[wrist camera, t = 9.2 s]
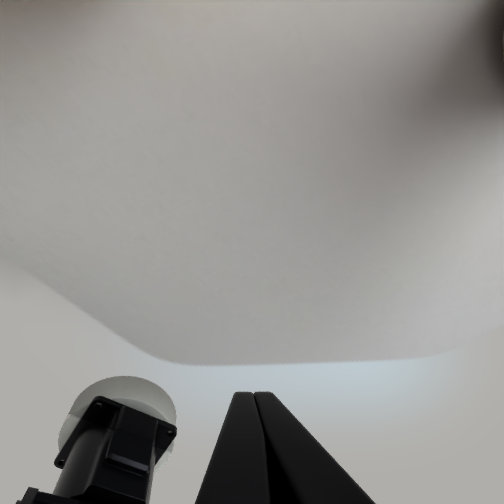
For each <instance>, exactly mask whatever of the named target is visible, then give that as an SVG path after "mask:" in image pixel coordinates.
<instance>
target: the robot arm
mask: <svg viewBox="0 0 504 504" xmlns="http://www.w3.org/2000/svg"><path fill="white" fill-rule="evenodd" d="M97 403H101V405H98V404H97ZM169 431H172V432H171V433H170V432H169ZM176 435H177V427H176V426H175V425H173V424H170V423H168V422H166V421H163V420H161V419H158V418H156V417H153V416H151V415H148V414H146V413H143V412H141V411H138V410H136V409H133V408H131V407H128V406H126V405H123V404H121V403H119V402H116V401H114V400H111V399H109V398H106V397H104V396H96V397H94V398H93V400H92V401H91V403H90V404H89V406H88V408H87V409H86V411H85V412H84V414H83V415H82V417H81V419H80V420H79V422H78V423H77V425H76V426H75V428H74V430H73V431H72V433H71V434H70V436H69V438H68V439H67V441H66V442H65V444H64V445H63V447H62V449H61V450H60V452H59V453H58V455H57V457H56V459H55V461H54V465H55V466H56V467H58V468H60V469H63V470H62V473H61V475H60V477H59V480H58V482H57V485H56V487H55V489H54V491H53V494H49V493H45V492H40V491H38V489H36V488H32V487H29V488H28V489H27V491H26V493H25V495H24V497H23V499H22V501H19V500H17V502H16V504H149V499H150V494H151V487H152V480H153V473H154V467H155V465H156V464H157V462H158V461H159V460H160V458H161V457H162V455H163V454H164V453H165V451H166V450H167V448H168V447H169V445H170V444H171V443H172V441H173V440H174V438H175V437H176ZM62 460H64V461H62ZM195 504H375V502H374V501H373V500H371V498H370V497H369V496H368V495H367V494H366V493H365V492H364V491H363V490H362V488H361V487H359V485H358V484H357V483H356V482H355V481H354V480H353V479H352V478H351V477H350V476H349V475H348V473H347V472H346V471H345V470H344V469H343V468H342V467H341V466H340V465H339V464H338V463H337V462H336V461H335V459H334V458H333V457H332V456H331V455H330V454H329V453H328V452H327V451H326V450H325V449H324V448H323V447H322V446H321V444H320V443H319V442H317V440H316V439H315V438H314V437H313V436H312V435H311V434H310V433H309V432H308V430H307V429H306V428H305V427H304V426H303V425H302V424H301V423H300V422H299V421H298V420H297V419H296V418H295V416H293V414H292V413H291V412H290V411H289V410H288V409H287V408H286V407H285V406H284V405H283V404H282V403H281V401H280V400H279V399H278V398H277V397H276V396H275V395H274V394H273V393H271V392H255V393H254V394H253V393H251V392H235V393H234V395H233V398H232V401H231V403H230V406H229V409H228V412H227V415H226V417H225V420H224V423H223V426H222V429H221V432H220V434H219V437H218V440H217V443H216V446H215V449H214V451H213V454H212V457H211V460H210V462H209V465H208V468H207V471H206V474H205V476H204V479H203V482H202V485H201V488H200V491H199V493H198V496H197V499H196V502H195Z"/></svg>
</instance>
